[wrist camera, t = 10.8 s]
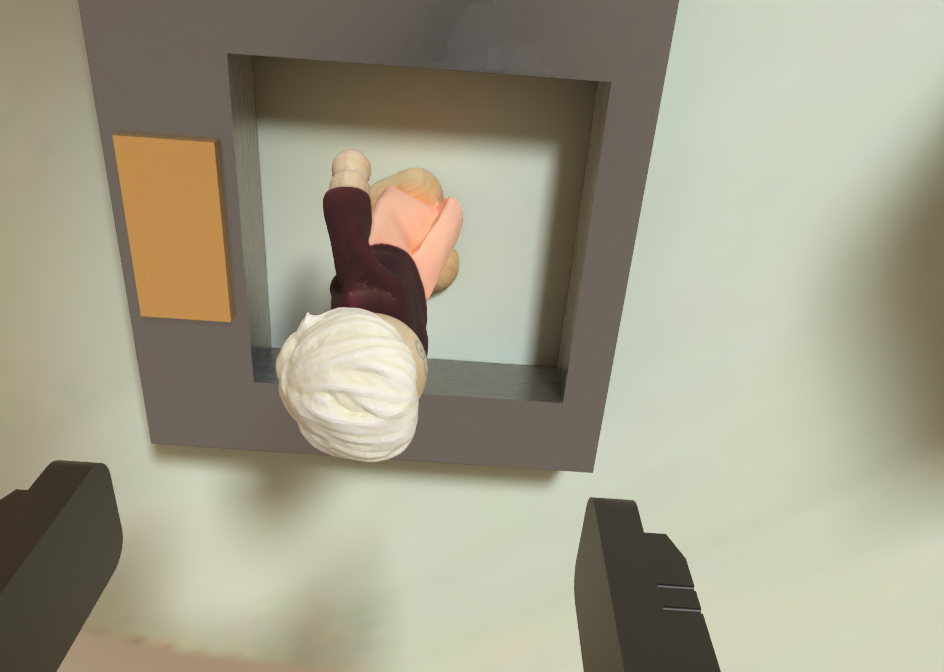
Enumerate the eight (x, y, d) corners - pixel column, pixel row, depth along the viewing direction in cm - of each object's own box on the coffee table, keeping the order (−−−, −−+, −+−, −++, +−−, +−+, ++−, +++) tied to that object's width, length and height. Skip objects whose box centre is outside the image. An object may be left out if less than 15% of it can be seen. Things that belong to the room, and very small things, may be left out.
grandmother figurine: (500, 293, 27) (507, 537, 16) (404, 326, 28) (347, 581, 17) (417, 89, 24) (353, 217, 13) (311, 133, 25) (163, 290, 14)
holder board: (107, -77, 22) (59, -79, 19) (664, -34, 22) (687, -30, 20) (176, 406, 30) (148, 448, 27) (584, 433, 30) (593, 477, 28)
